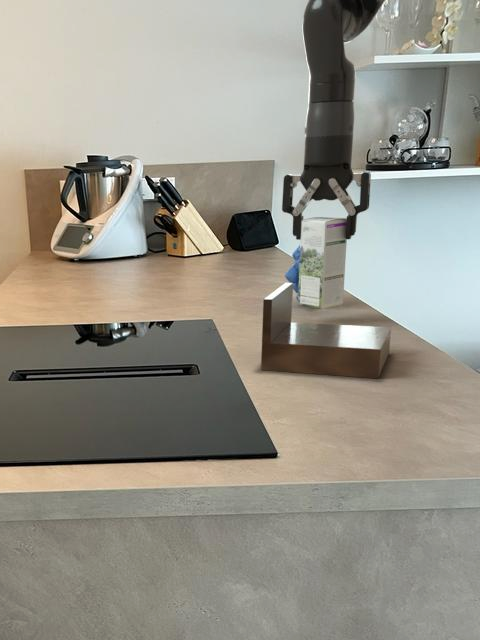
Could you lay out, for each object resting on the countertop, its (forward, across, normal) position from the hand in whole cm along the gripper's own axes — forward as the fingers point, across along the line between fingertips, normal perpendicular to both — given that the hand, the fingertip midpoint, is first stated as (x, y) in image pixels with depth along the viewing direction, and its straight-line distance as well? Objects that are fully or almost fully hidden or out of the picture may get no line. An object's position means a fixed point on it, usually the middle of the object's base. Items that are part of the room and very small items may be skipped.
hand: (323, 239), depth 133 cm
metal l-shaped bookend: (+14, -6, +26) cm, 30 cm away
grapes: (+14, +6, -15) cm, 22 cm away
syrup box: (+11, 0, 0) cm, 11 cm away
